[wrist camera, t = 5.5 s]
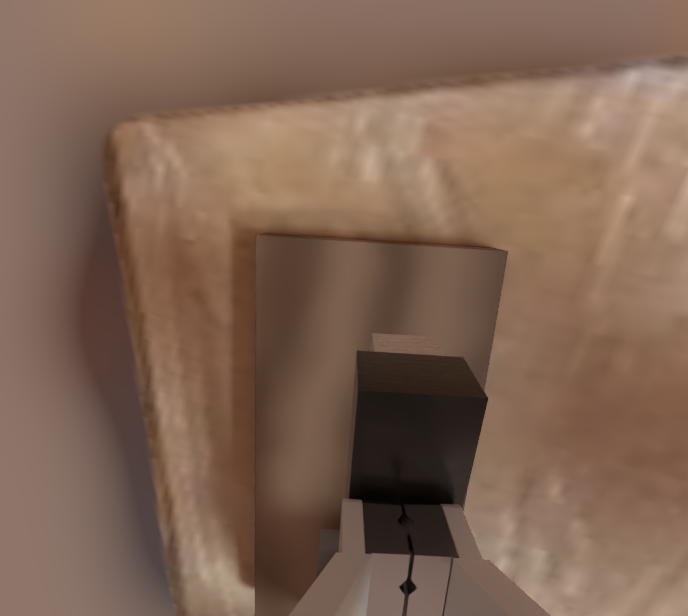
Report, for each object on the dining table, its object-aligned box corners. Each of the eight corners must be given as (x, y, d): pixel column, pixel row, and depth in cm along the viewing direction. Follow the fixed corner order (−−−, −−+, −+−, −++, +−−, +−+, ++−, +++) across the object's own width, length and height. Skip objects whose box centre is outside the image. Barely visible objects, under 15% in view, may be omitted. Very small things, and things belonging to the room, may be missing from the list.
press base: (494, 248, 22) (680, 293, 10) (436, 602, 29) (502, 893, 17) (263, 233, 22) (155, 260, 10) (261, 591, 29) (195, 876, 17)
